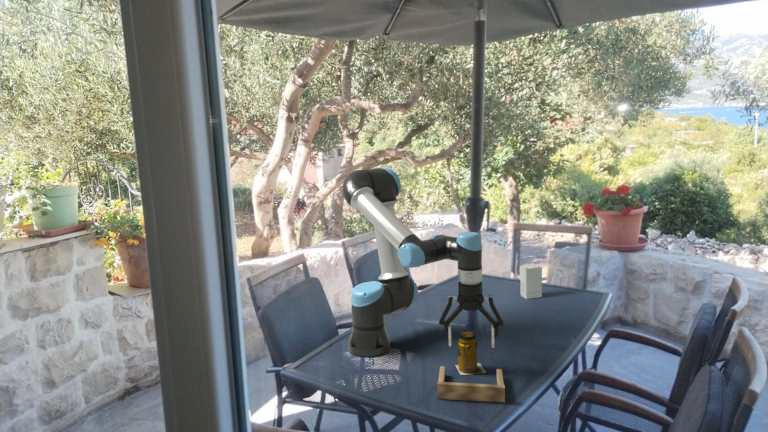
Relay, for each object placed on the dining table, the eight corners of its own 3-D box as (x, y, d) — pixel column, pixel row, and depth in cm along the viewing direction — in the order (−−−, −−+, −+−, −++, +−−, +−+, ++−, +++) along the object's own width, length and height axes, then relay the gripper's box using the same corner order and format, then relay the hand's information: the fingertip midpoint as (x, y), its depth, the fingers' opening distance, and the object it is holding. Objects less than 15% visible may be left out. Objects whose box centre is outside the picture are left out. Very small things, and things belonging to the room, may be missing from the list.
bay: (437, 398, 143) (437, 384, 143) (440, 375, 158) (440, 361, 157) (504, 402, 140) (504, 387, 140) (501, 378, 154) (501, 364, 154)
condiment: (454, 365, 164) (454, 330, 162) (479, 363, 165) (479, 329, 163) (460, 375, 157) (460, 339, 155) (486, 373, 158) (486, 337, 156)
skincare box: (535, 293, 234) (536, 263, 232) (542, 297, 228) (543, 266, 226) (519, 295, 232) (519, 264, 230) (525, 299, 226) (526, 268, 224)
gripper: (429, 284, 155) (431, 349, 158) (511, 284, 150) (512, 351, 153) (431, 278, 162) (433, 339, 165) (509, 278, 158) (510, 341, 161)
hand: (471, 345), depth 159 cm, fingers open, 13 cm apart
